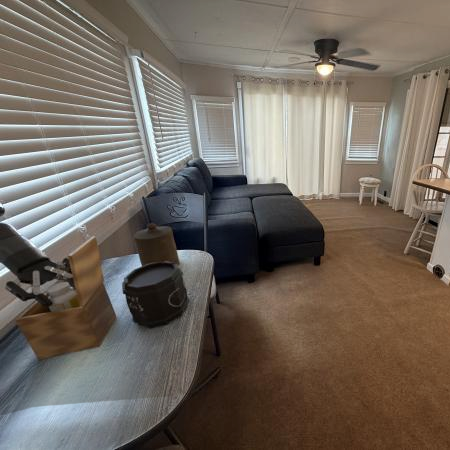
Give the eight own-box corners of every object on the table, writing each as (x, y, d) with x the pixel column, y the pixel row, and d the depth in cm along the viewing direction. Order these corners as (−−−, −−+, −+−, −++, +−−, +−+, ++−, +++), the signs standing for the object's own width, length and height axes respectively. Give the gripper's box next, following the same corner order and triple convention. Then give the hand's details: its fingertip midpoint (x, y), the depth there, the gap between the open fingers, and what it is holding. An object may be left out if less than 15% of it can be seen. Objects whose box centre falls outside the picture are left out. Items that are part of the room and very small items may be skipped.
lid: (67, 255, 60) (71, 255, 60) (92, 236, 71) (95, 236, 71) (79, 306, 65) (83, 306, 65) (101, 280, 76) (104, 280, 76)
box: (38, 360, 67) (14, 320, 61) (65, 327, 78) (47, 291, 73) (99, 346, 70) (82, 307, 65) (116, 317, 82) (103, 282, 76)
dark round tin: (192, 289, 95) (184, 255, 89) (188, 321, 79) (178, 281, 73) (141, 300, 90) (129, 264, 84) (125, 336, 74) (109, 294, 68)
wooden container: (184, 259, 118) (175, 217, 110) (171, 275, 104) (159, 229, 96) (154, 260, 118) (142, 218, 109) (137, 277, 104) (121, 231, 96)
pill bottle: (87, 308, 76) (74, 277, 71) (85, 320, 71) (70, 287, 66) (60, 316, 72) (44, 284, 68) (55, 330, 67) (38, 296, 63)
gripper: (-16, 260, 59) (36, 307, 60) (54, 237, 72) (95, 276, 73) (-18, 276, 62) (31, 320, 63) (49, 250, 75) (89, 288, 76)
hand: (65, 296), depth 68 cm, fingers closed on pill bottle, 6 cm apart
